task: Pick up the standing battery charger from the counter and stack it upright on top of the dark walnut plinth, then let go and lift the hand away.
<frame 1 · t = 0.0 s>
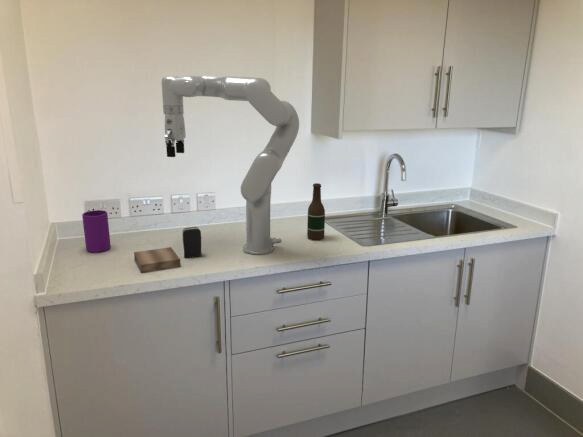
hand: (175, 154, 192), 37 cm above the worktop, tool pointing down, fingers open, 9 cm apart
beer bottle: (315, 238, 213), on the worktop
mug: (97, 247, 200), on the worktop
battery charger: (192, 256, 191), on the worktop
plinth: (157, 263, 183), on the worktop
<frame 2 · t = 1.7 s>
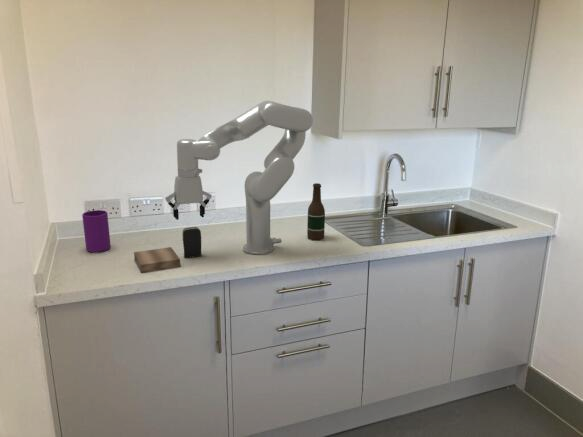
hand: (189, 217, 187), 16 cm above the worktop, tool pointing down, fingers open, 9 cm apart
nothing on the worktop moved.
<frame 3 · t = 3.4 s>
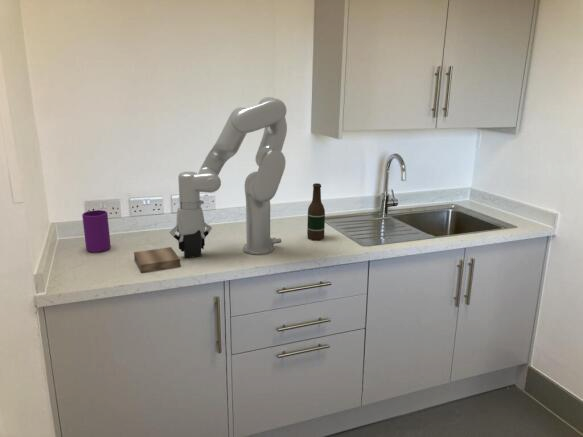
hand: (191, 248, 190), 3 cm above the worktop, tool pointing down, fingers closed on battery charger, 7 cm apart
battery charger: (192, 256, 191), on the worktop, touching gripper
everything else where it was.
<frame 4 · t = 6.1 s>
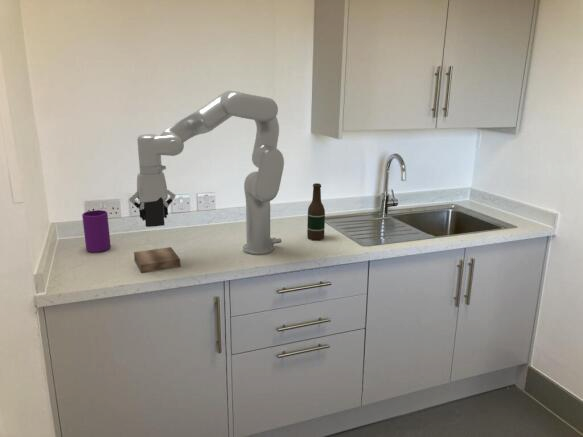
hand: (154, 217, 178), 18 cm above the worktop, tool pointing down, fingers closed on battery charger, 7 cm apart
battery charger: (155, 225, 179), point 15 cm above the worktop, touching gripper
everything else where it was.
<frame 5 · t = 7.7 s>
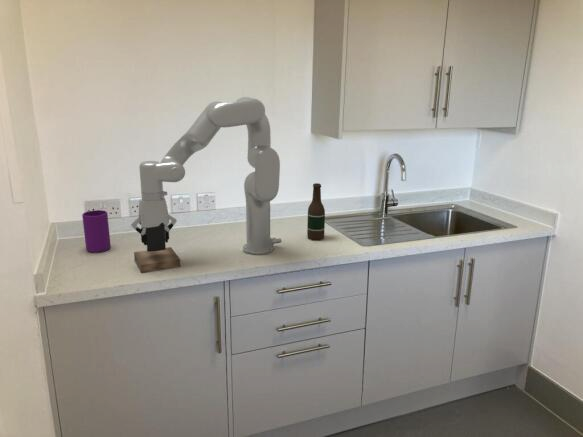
hand: (155, 242, 181), 8 cm above the worktop, tool pointing down, fingers closed on battery charger, 7 cm apart
battery charger: (156, 250, 182), point 5 cm above the worktop, touching gripper
everything else where it was.
when the fingers open (7 cm above the worktop, at t = 8.9 s): battery charger drops 1 cm, resting on plinth.
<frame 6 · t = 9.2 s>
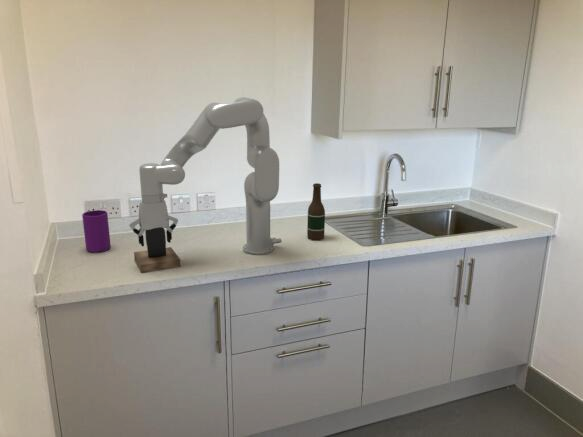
hand: (155, 243, 181), 8 cm above the worktop, tool pointing down, fingers open, 9 cm apart
battery charger: (157, 255, 183), point 3 cm above the worktop, touching plinth
everything else where it was.
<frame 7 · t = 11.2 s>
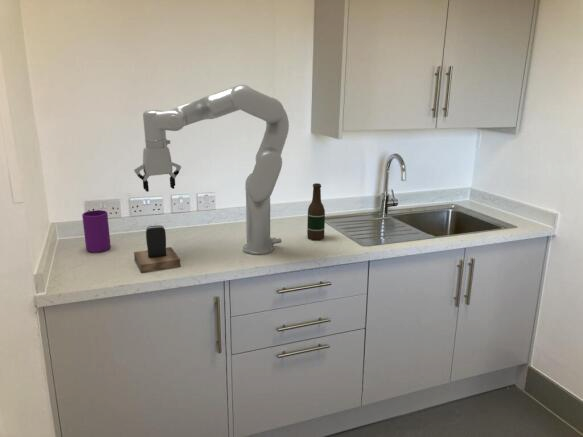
hand: (159, 189, 187), 26 cm above the worktop, tool pointing down, fingers open, 9 cm apart
nothing on the worktop moved.
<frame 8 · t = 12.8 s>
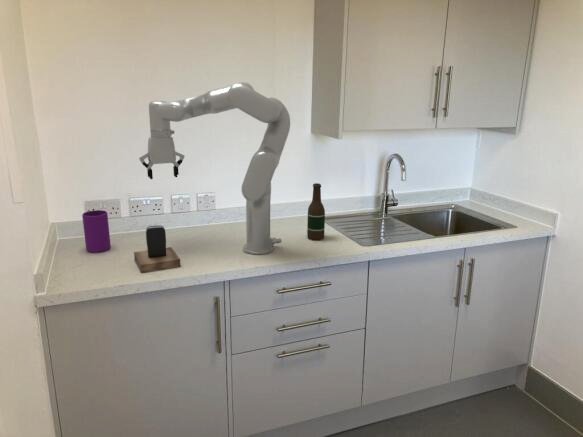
hand: (163, 177, 194), 28 cm above the worktop, tool pointing down, fingers open, 9 cm apart
nothing on the worktop moved.
at the end: battery charger inside the target area on the plinth (0.2 cm from its centre), point 2.8 cm above the plinth's base; battery charger tilted 0°; the gripper is holding nothing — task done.
